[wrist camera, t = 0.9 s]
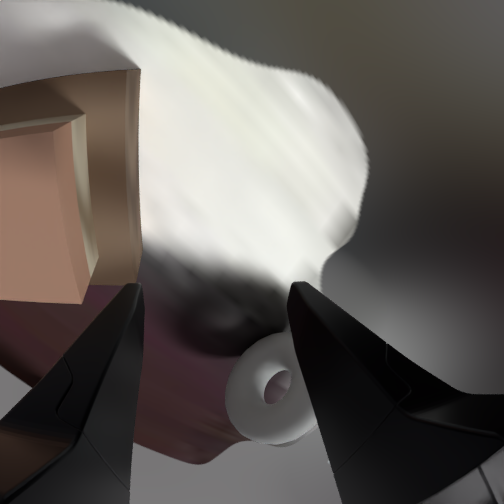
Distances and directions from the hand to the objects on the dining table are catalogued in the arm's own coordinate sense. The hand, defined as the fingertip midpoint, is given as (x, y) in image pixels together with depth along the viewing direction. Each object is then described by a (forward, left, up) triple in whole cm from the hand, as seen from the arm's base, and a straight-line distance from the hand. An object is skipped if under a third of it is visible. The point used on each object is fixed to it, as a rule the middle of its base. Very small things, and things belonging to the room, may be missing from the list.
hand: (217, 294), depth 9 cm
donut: (-16, -6, -12) cm, 21 cm away
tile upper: (0, +10, -6) cm, 12 cm away
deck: (0, +11, -12) cm, 16 cm away
